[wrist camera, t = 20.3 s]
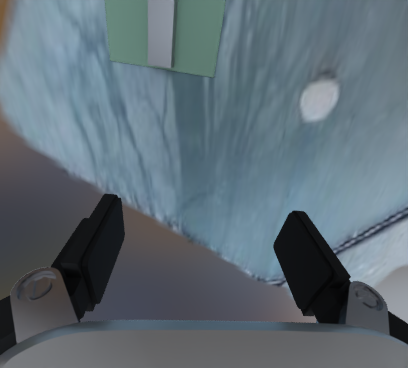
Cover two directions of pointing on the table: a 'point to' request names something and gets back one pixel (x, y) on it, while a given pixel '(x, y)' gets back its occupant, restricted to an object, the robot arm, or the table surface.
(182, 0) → the mat
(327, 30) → the table surface
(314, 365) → the robot arm
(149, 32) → the scraper
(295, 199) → the table surface
